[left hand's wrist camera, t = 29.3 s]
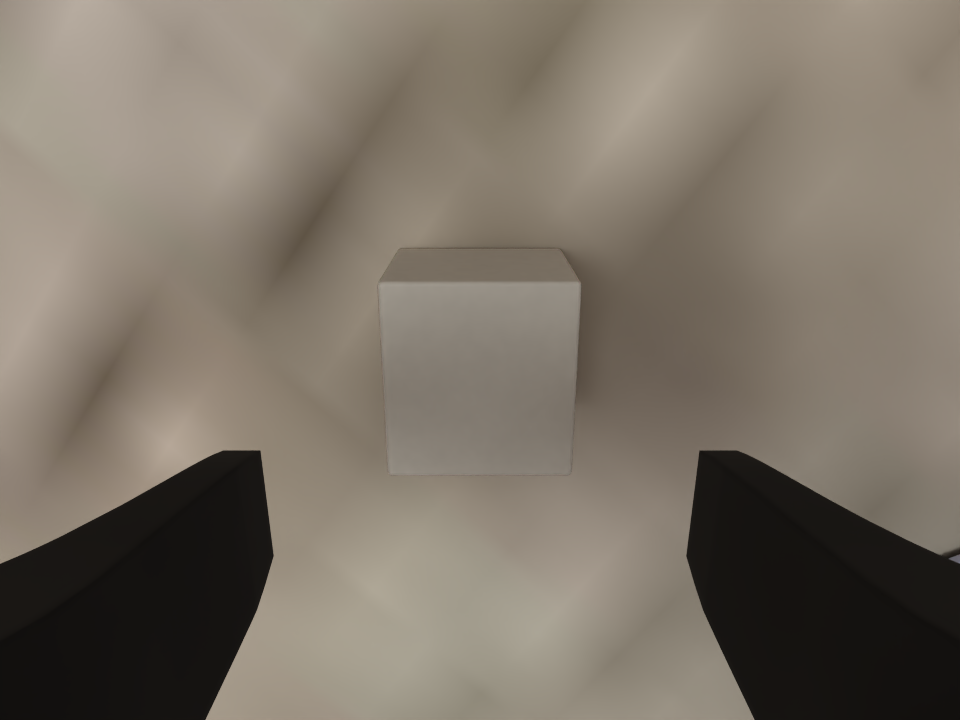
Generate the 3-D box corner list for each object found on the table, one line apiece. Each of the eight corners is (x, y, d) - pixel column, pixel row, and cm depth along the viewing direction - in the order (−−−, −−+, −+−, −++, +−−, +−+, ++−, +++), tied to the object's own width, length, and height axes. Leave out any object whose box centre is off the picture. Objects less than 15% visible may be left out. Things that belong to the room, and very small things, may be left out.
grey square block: (397, 247, 19) (376, 281, 15) (561, 247, 19) (582, 281, 15) (404, 409, 21) (387, 477, 17) (555, 409, 21) (571, 477, 17)
